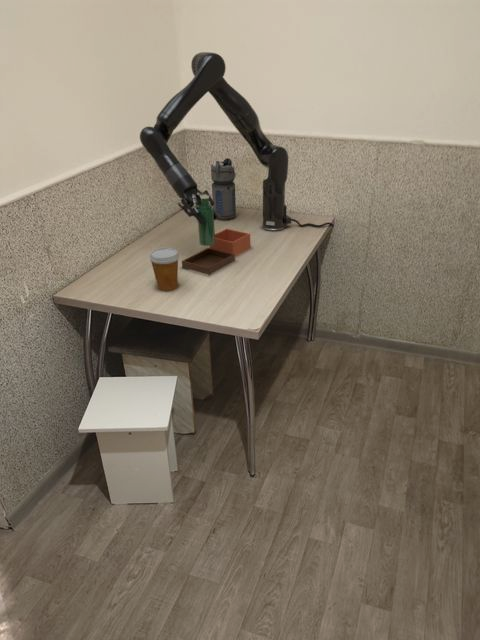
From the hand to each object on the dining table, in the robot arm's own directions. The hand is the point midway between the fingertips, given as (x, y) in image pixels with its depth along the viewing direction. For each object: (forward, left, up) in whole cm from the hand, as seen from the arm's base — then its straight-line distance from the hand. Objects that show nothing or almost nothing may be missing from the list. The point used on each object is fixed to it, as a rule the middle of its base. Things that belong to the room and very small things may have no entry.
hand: (210, 221), depth 175 cm
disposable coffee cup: (+19, +11, -17) cm, 28 cm away
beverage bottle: (-23, -51, -17) cm, 58 cm away
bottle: (+1, -1, -8) cm, 8 cm away
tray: (+1, -1, -16) cm, 17 cm away
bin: (-11, -12, -16) cm, 23 cm away
